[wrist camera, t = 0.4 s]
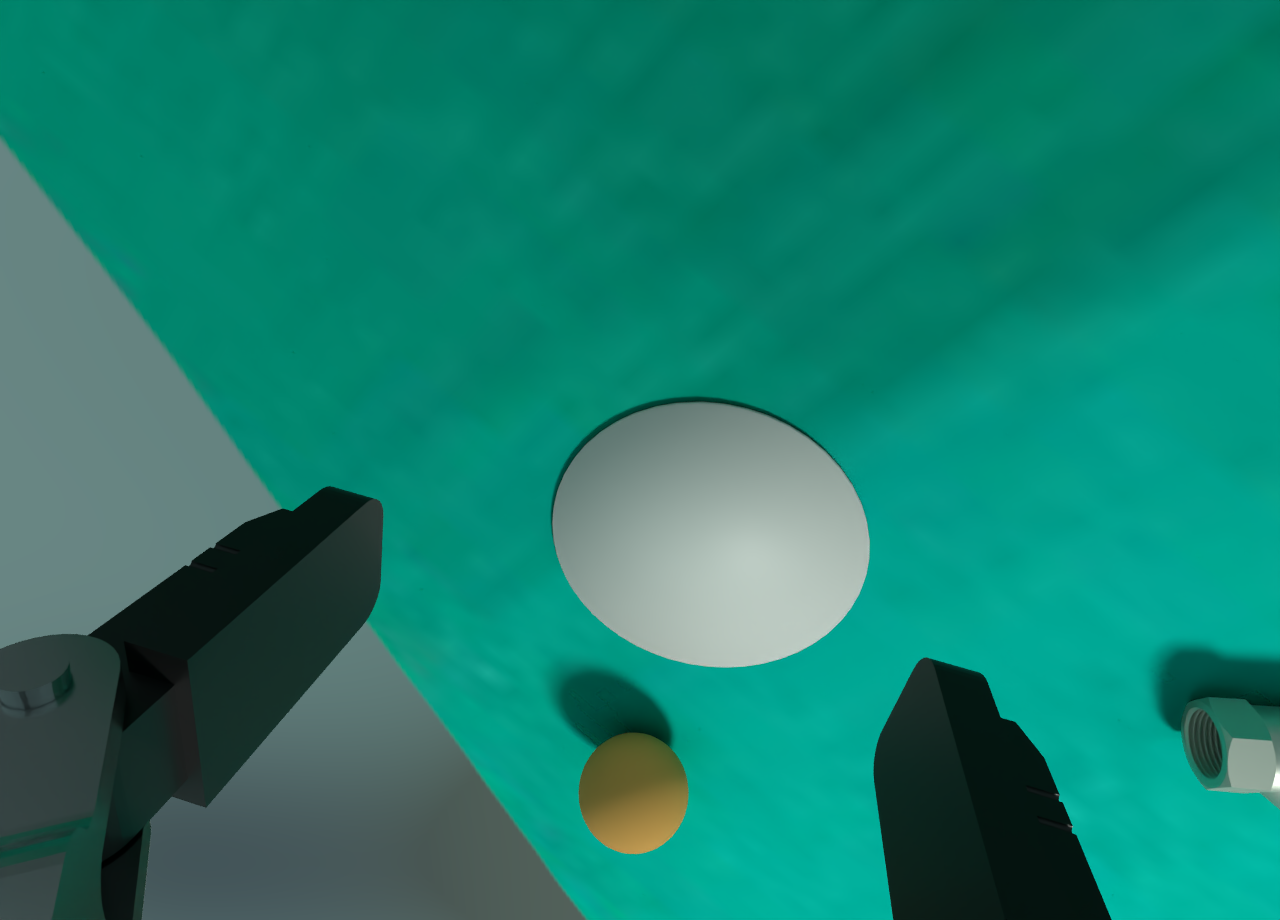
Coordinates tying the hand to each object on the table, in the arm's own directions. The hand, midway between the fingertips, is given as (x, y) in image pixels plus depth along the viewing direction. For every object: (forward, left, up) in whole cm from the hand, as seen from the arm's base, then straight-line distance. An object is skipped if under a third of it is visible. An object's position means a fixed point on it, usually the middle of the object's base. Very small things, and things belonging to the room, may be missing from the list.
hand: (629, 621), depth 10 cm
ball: (+25, +2, -15) cm, 29 cm away
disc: (+11, +2, -18) cm, 21 cm away
